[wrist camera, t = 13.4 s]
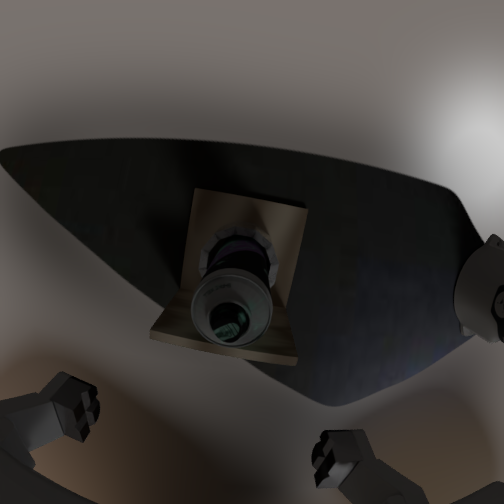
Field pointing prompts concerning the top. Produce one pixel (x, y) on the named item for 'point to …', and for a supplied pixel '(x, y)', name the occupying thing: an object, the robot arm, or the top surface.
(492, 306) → the robot arm
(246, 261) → the spray can
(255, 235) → the ring
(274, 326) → the brown l-shaped piece
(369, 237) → the top surface
